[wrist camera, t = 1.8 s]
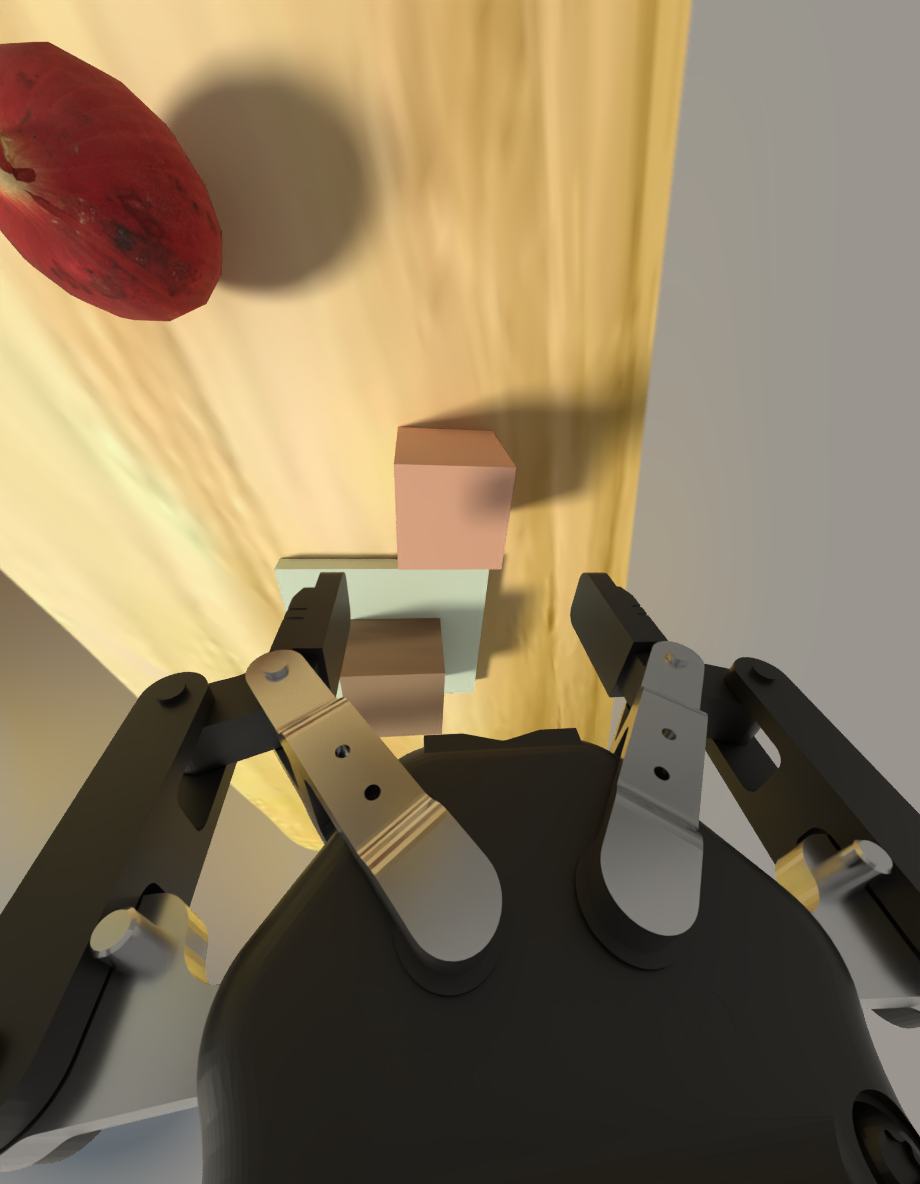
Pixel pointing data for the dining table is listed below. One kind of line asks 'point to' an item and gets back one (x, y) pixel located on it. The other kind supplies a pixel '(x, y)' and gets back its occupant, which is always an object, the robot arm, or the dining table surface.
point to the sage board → (406, 603)
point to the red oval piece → (101, 189)
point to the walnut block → (396, 674)
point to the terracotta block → (451, 499)
